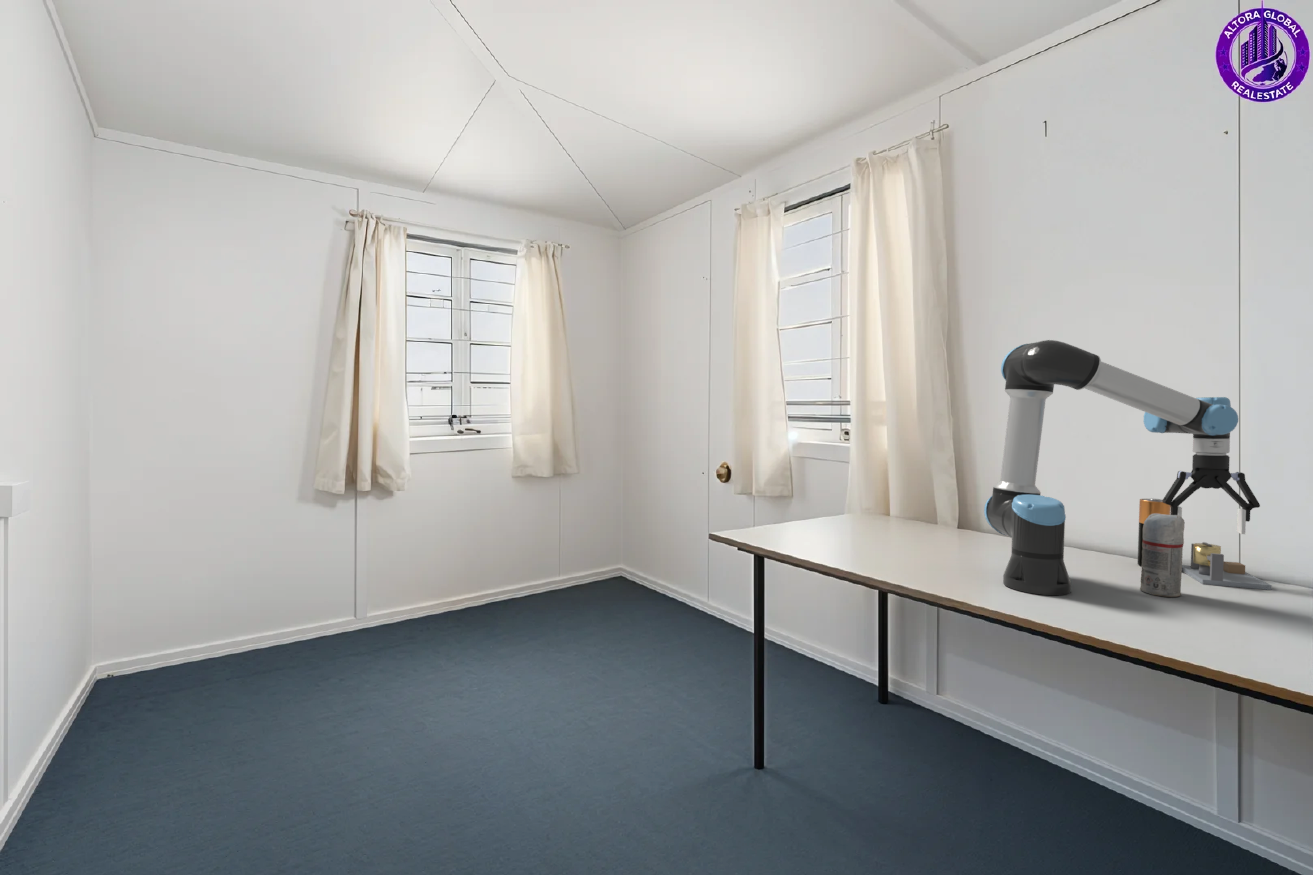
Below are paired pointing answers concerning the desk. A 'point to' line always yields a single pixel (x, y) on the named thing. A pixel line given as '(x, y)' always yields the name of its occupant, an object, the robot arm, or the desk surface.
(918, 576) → the desk surface
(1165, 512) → the battery
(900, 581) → the desk surface
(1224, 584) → the base
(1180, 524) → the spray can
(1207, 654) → the desk surface
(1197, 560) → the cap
